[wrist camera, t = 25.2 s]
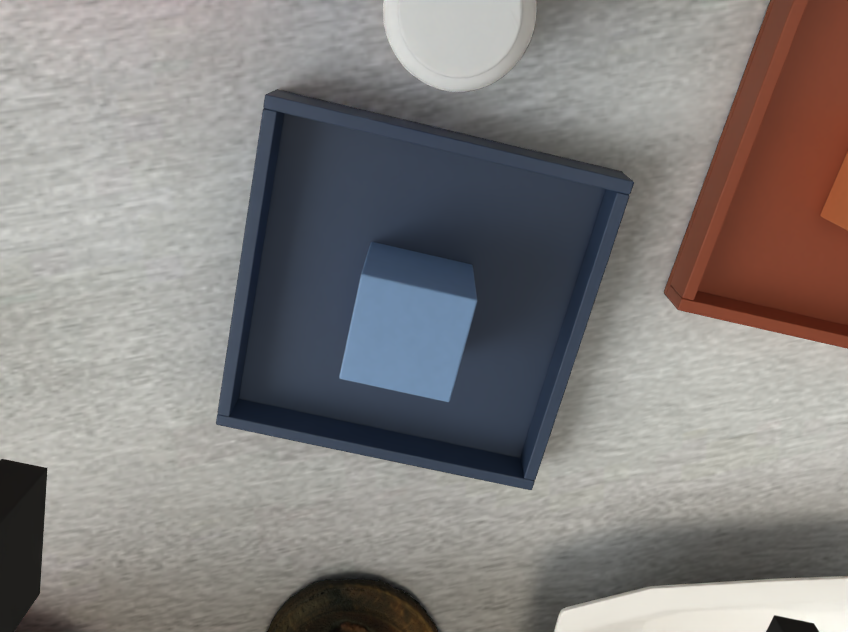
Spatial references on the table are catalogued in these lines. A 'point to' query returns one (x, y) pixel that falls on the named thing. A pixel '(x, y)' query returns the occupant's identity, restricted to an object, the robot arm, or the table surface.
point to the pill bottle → (459, 39)
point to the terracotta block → (838, 199)
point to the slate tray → (425, 233)
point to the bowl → (714, 607)
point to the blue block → (409, 322)
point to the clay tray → (776, 186)
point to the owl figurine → (351, 609)
